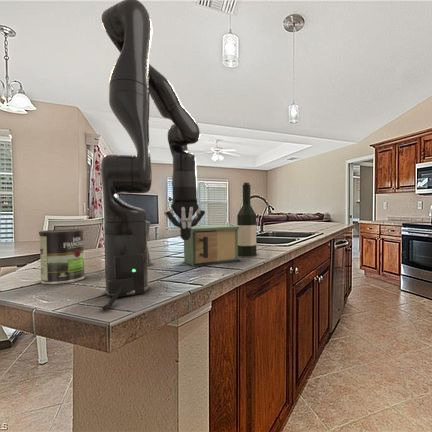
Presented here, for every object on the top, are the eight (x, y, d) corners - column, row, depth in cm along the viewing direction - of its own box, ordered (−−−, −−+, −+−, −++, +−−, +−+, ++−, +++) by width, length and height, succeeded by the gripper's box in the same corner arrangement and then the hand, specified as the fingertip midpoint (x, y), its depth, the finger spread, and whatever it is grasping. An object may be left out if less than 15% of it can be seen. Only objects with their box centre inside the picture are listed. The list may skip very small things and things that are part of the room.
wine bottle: (234, 254, 136) (233, 183, 135) (252, 252, 140) (252, 183, 139) (241, 256, 129) (240, 181, 127) (260, 255, 133) (259, 182, 131)
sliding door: (223, 263, 110) (223, 232, 109) (201, 266, 105) (200, 233, 105) (216, 260, 115) (216, 231, 114) (195, 263, 110) (194, 232, 110)
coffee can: (93, 276, 95) (92, 229, 95) (62, 285, 85) (60, 232, 84) (64, 275, 97) (62, 228, 97) (30, 283, 87) (28, 231, 87)
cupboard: (239, 261, 119) (239, 226, 118) (194, 266, 109) (193, 228, 109) (227, 257, 128) (226, 224, 128) (184, 261, 118) (183, 226, 118)
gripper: (166, 184, 95) (167, 242, 96) (209, 185, 103) (209, 239, 104) (160, 185, 101) (161, 240, 102) (200, 186, 109) (201, 237, 110)
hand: (185, 239), depth 103 cm, fingers closed
